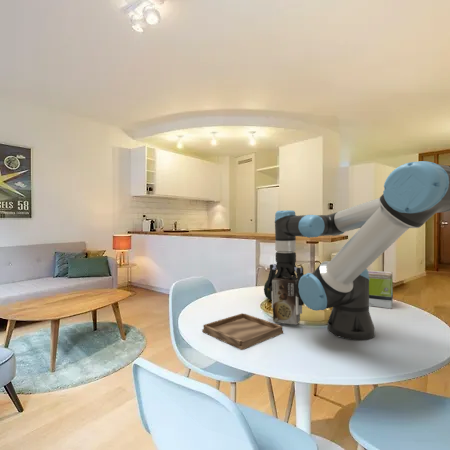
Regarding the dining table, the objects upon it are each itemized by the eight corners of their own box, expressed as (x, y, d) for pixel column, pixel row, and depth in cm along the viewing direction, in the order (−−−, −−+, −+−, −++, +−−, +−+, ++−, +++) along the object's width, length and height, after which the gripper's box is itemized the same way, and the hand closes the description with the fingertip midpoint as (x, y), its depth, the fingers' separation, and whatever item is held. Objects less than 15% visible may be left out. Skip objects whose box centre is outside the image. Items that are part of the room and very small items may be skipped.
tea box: (393, 303, 137) (393, 271, 137) (391, 309, 129) (391, 275, 129) (357, 299, 146) (357, 269, 145) (354, 304, 137) (353, 272, 137)
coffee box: (300, 319, 114) (299, 277, 113) (297, 325, 108) (296, 280, 108) (277, 316, 117) (276, 275, 117) (272, 322, 112) (271, 278, 111)
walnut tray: (283, 332, 104) (283, 326, 104) (241, 350, 91) (241, 342, 91) (243, 318, 119) (243, 313, 119) (202, 331, 106) (202, 325, 106)
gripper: (318, 253, 106) (319, 315, 106) (268, 249, 123) (269, 302, 124) (306, 254, 101) (307, 320, 101) (256, 250, 119) (257, 306, 119)
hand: (286, 310), depth 113 cm, fingers closed on coffee box, 10 cm apart
